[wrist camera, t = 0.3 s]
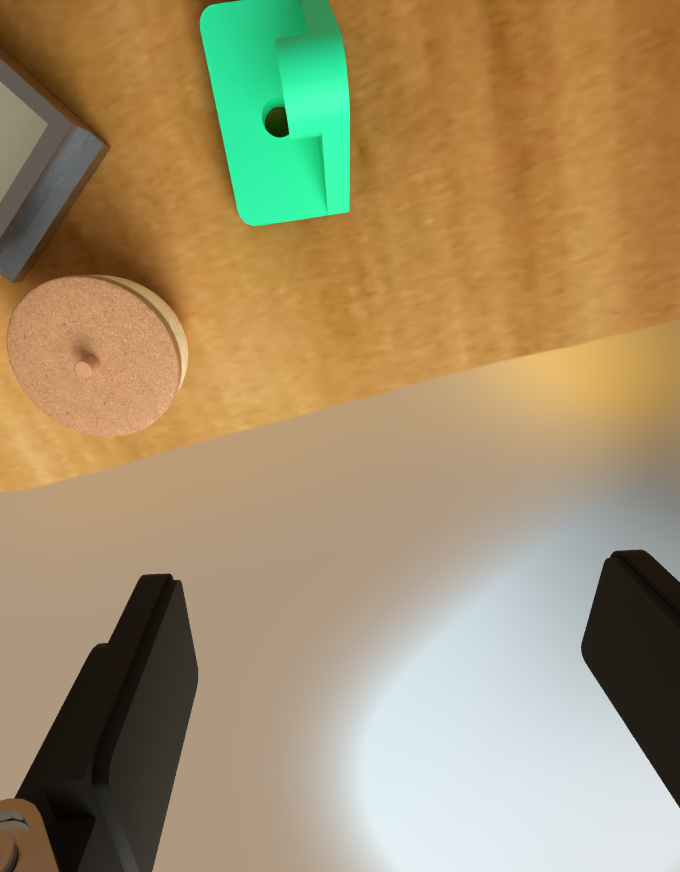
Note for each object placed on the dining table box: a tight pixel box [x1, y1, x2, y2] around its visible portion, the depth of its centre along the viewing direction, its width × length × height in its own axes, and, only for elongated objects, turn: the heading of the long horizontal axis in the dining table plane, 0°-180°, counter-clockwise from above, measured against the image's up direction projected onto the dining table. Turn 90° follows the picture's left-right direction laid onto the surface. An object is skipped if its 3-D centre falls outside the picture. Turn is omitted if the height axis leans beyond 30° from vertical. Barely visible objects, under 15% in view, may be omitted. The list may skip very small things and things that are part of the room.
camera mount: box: [200, 0, 350, 226], centre depth 27 cm, size 12×8×10 cm, turn 8°
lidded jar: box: [7, 274, 188, 437], centre depth 33 cm, size 11×11×9 cm
